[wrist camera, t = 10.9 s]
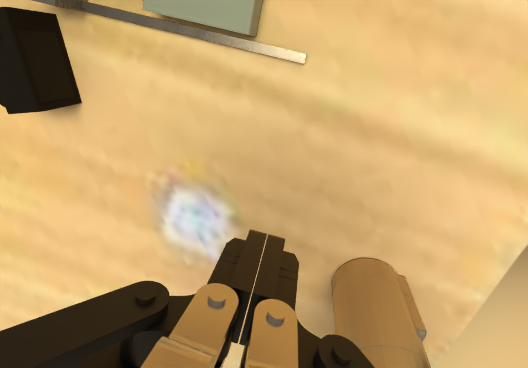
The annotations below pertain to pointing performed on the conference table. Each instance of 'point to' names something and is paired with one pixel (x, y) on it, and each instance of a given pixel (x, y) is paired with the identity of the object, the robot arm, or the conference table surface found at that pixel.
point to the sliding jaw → (212, 12)
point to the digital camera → (34, 63)
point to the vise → (179, 29)
